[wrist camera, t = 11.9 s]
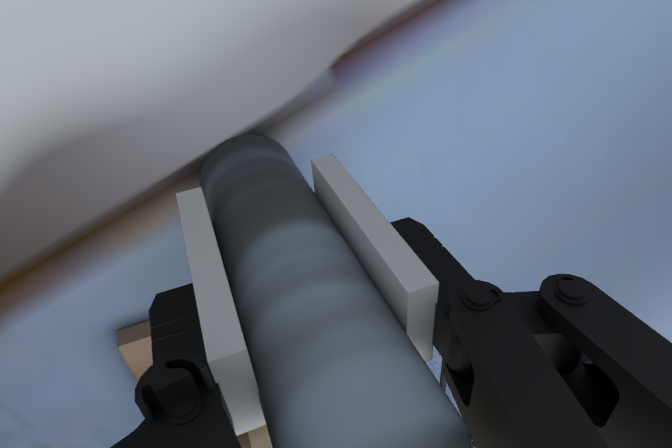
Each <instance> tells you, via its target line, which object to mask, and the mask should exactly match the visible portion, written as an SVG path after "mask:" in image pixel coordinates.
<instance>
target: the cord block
mask: <svg viewBox="0 0 672 448" xmlns="http://www.w3.org/2000/svg"><path fill="white" fill-rule="evenodd" d="M200 186H201V188H202V192H203V195H204V198H205V202H206V205H207V209H208V212H209V215H210V219H211V222H212V226H213V229H214V233H215V236H216V240H217V243H218V247H219V250H220V254H221V257H222V261H223V265H224V268H225V272H226V275H227V279H228V282H229V286H230V289H231V293H232V297H233V300H234V304H235V307H236V311H237V314H238V318H239V321H240V325H241V329H242V332H243V336H244V339H245V343H246V346H247V350H248V353H249V357H250V360H251V364H252V368H253V371H254V375H255V378H256V382H257V385H258V389H259V399H260V404H261V408H262V411H263V415H264V418H265V422H266V425H263V426H261V427H258V428H256V429H253V430H251V431H248V435H249V440H250V444H251V448H470V445H471V432H470V430H469V428H468V427H467V425H466V423H465V422H464V420H463V419H462V417H461V416H460V414H459V413H458V411H457V410H456V408H455V407H454V405H453V404H452V402H451V401H450V399H449V398H448V396H447V395H446V393H445V392H444V390H443V388H442V387H441V385H440V384H439V382H438V381H437V379H436V378H435V376H434V375H433V373H432V372H431V370H430V369H429V367H428V366H427V364H426V363H425V361H424V360H423V358H422V357H421V355H420V353H419V352H418V350H417V349H416V347H415V346H414V344H413V343H412V341H411V340H410V338H409V337H408V335H407V334H406V332H405V331H404V329H403V328H402V326H401V325H400V323H399V321H398V320H397V318H396V317H395V315H394V314H393V312H392V311H391V309H390V308H389V306H388V305H387V303H386V302H385V300H384V299H383V297H382V296H381V294H380V293H379V291H378V290H377V288H376V286H375V285H374V283H373V282H372V280H371V279H370V277H369V276H368V274H367V273H366V271H365V270H364V268H363V267H362V265H361V264H360V262H359V261H358V259H357V258H356V256H355V254H354V253H353V251H352V250H351V248H350V247H349V245H348V244H347V242H346V241H345V239H344V238H343V236H342V235H341V233H340V232H339V230H338V229H337V227H336V226H335V224H334V223H333V221H332V219H331V218H330V216H329V215H328V213H327V212H326V210H325V209H324V207H323V206H322V204H321V203H320V201H319V200H318V198H317V197H316V195H315V194H314V192H313V191H312V189H311V188H310V186H309V184H308V183H307V181H306V180H305V178H304V177H303V175H302V174H301V172H300V171H299V169H298V168H297V166H296V165H295V163H294V162H293V160H292V159H291V157H290V156H289V154H288V152H287V151H286V150H285V149H284V148H283V147H282V146H281V145H280V144H279V143H277V142H276V141H274V140H272V139H271V138H268V137H265V136H261V135H253V134H250V135H241V136H237V137H233V138H231V139H228V140H226V141H224V142H223V143H221V144H220V145H218V146H217V147H216V148H215V149H214V150H213V151H212V152H211V153H210V154H209V155H208V157H207V158H206V160H205V162H204V164H203V166H202V170H201V174H200Z"/></svg>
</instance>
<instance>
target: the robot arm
mask: <svg viewBox="0 0 672 448" xmlns="http://www.w3.org/2000/svg"><path fill="white" fill-rule="evenodd" d="M311 163H312V172H313V180H314V189H315V195H316V197H317V198H318V200H319V201H320V203H321V204H322V206H323V207H324V209H325V210H326V212H327V213H328V215H329V216H330V218H331V219H332V221H333V223H334V224H335V226H336V227H337V229H338V230H339V232H340V233H341V235H342V236H343V238H344V239H345V241H346V242H347V244H348V245H349V247H350V248H351V250H352V251H353V253H354V254H355V256H356V258H357V259H358V261H359V262H360V264H361V265H362V267H363V268H364V270H365V271H366V273H367V274H368V276H369V277H370V279H371V280H372V282H373V283H374V285H375V286H376V288H377V290H378V291H379V293H380V294H381V296H382V297H383V299H384V300H385V302H386V303H387V305H388V306H389V308H390V309H391V311H392V312H393V314H394V315H395V317H396V318H397V320H398V321H399V323H400V325H401V326H402V328H403V329H404V331H405V332H406V334H407V335H408V337H409V338H410V340H411V341H412V343H413V344H414V346H415V347H416V349H417V350H418V352H419V353H420V355H421V357H422V358H423V360H424V361H425V362H427V361H430V360H432V356H433V345H434V346H435V348H436V349H437V351H438V352H439V354H440V355H441V356H442V358H443V359H442V368H441V377H440V385H441V387H442V388H443V390H444V391H446V384H447V383H448V386H449V388H450V390H451V392H452V395H453V397H454V399H455V401H456V404H457V406H458V408H459V411H460V413H461V415H462V417H463V420H464V422H465V423H466V425H467V427H468V428H469V430H470V432H471V438H472V440H473V442H474V444H475V447H476V448H672V343H671V342H669V341H668V340H667V339H665V338H664V337H663V336H661V335H660V334H659V333H657V332H656V331H655V330H653V329H652V328H651V327H649V326H648V325H647V324H645V323H644V322H643V321H641V320H640V319H639V318H637V317H636V316H635V315H633V314H632V313H631V312H629V311H628V310H627V309H625V308H624V307H623V306H621V305H620V304H619V303H617V302H616V301H615V300H613V299H612V298H611V297H609V296H608V295H607V294H605V293H604V292H603V291H601V290H600V289H599V288H597V287H596V286H595V285H593V284H592V283H590V282H588V281H587V280H585V279H583V278H581V277H577V276H574V275H570V274H556V275H551V276H548V277H547V278H546V279H544V280H543V281H542V284H541V286H540V290H539V291H530V292H514V293H509V292H502V291H501V290H500V289H499V288H498V287H496V286H495V285H493V284H491V283H489V282H484V281H480V280H475V279H473V277H472V276H471V275H470V274H469V273H468V272H467V271H466V270H465V269H464V268H463V267H462V266H461V264H460V263H459V262H458V261H457V260H456V259H455V258H454V257H453V256H452V255H451V254H450V253H449V252H448V250H447V249H446V248H445V247H443V246H442V244H441V243H440V242H439V241H438V240H437V239H436V238H434V235H433V234H432V233H431V232H430V231H429V230H428V229H427V228H426V227H425V226H424V225H423V224H421V223H419V222H417V221H415V220H413V219H411V218H409V217H407V218H404V219H401V220H397V221H394V222H391V223H390V222H389V221H388V220H387V219H386V218H385V216H384V215H383V214H382V213H381V212H380V210H379V209H378V208H377V207H376V206H375V204H374V203H373V202H372V201H371V200H370V198H369V197H368V196H367V195H366V193H365V192H364V191H363V190H362V189H361V187H360V186H359V185H358V184H357V183H356V181H355V180H354V179H353V178H352V177H351V175H350V174H349V173H348V172H347V171H346V169H345V168H344V167H343V166H342V164H341V163H340V162H339V161H338V160H337V158H336V157H335V156H334V155H333V154H331V155H327V156H323V157H319V158H315V159H311ZM176 197H177V202H178V208H179V213H180V218H181V224H182V229H183V234H184V240H185V245H186V250H187V256H188V261H189V266H190V271H191V277H192V282H193V283H191V284H188V285H185V286H181V287H178V288H175V289H171V290H168V291H165V292H161V293H158V294H156V296H155V298H154V301H153V303H152V305H151V307H150V310H149V316H150V327H151V330H150V331H151V341H152V343H151V345H152V359H153V365H151V366H150V367H149V368H148V369H147V370H146V371H145V373H144V374H143V375H142V376H141V377H140V379H139V381H138V384H137V386H136V388H135V402H136V404H137V406H138V407H139V409H140V411H141V412H142V414H143V416H144V417H145V420H144V421H143V422H142V423H141V424H140V425H139V426H138V428H136V429H135V430H134V431H133V432H132V433H130V434H129V435H128V436H126V437H125V438H124V439H122V440H121V441H119V442H118V443H116V444H115V445H113V446H112V447H110V448H242V447H241V445H240V443H239V441H238V439H237V436H238V435H240V434H243V433H245V432H248V431H251V430H253V429H256V428H258V427H261V426H263V425H266V422H265V418H264V415H263V411H262V408H261V404H260V399H259V389H258V385H257V382H256V378H255V375H254V371H253V368H252V364H251V360H250V357H249V353H248V350H247V346H246V343H245V339H244V336H243V332H242V329H241V325H240V321H239V318H238V314H237V311H236V307H235V304H234V300H233V297H232V293H231V289H230V286H229V282H228V279H227V275H226V272H225V268H224V265H223V261H222V257H221V254H220V250H219V247H218V243H217V240H216V236H215V233H214V229H213V226H212V222H211V219H210V215H209V212H208V209H207V205H206V202H205V198H204V195H203V192H202V188H201V187H199V188H195V189H191V190H187V191H183V192H179V193H176ZM235 433H236V434H235Z"/></svg>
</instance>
